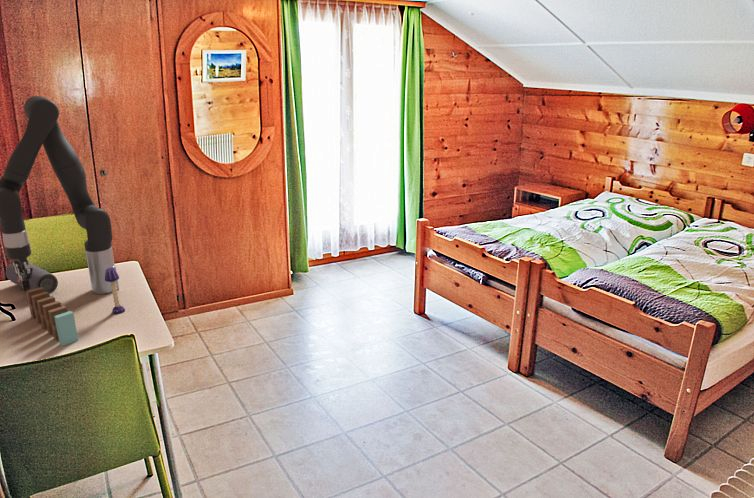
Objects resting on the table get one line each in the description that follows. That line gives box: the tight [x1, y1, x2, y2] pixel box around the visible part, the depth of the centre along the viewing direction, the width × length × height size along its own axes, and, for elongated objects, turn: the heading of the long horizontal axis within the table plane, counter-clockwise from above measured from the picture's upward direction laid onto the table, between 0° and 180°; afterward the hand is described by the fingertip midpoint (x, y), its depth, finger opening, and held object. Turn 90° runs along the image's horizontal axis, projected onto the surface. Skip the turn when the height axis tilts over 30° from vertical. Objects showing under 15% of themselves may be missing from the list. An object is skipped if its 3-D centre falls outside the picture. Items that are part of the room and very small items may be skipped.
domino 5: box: [48, 305, 68, 341], centre depth 190 cm, size 2×5×10 cm, turn 140°
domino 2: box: [31, 292, 51, 325], centre depth 201 cm, size 2×5×10 cm, turn 140°
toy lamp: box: [105, 267, 126, 315], centre depth 207 cm, size 5×5×17 cm
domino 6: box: [54, 310, 79, 347], centre depth 187 cm, size 2×5×10 cm, turn 140°
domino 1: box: [25, 287, 44, 320], centre depth 204 cm, size 2×5×10 cm, turn 140°
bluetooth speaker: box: [5, 263, 59, 295], centre depth 225 cm, size 23×9×10 cm, turn 56°
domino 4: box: [42, 300, 63, 336], centre depth 194 cm, size 2×5×10 cm, turn 140°
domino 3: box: [37, 295, 56, 330], centre depth 197 cm, size 2×5×10 cm, turn 140°
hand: (26, 289), depth 208 cm, fingers closed
